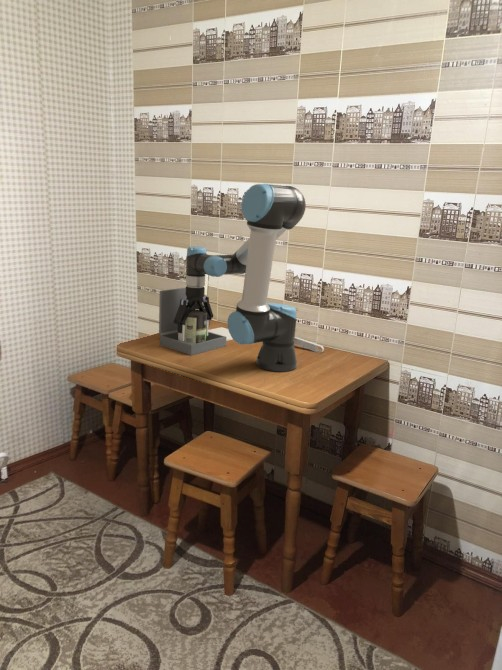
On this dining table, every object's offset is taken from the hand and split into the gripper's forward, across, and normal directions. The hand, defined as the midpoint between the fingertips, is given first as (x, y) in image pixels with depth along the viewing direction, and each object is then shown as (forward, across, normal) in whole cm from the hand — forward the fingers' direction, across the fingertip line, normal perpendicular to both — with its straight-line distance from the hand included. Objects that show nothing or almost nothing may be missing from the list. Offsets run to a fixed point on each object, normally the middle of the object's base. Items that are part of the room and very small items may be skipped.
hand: (193, 337), depth 215 cm
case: (+3, 0, 0) cm, 3 cm away
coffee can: (+4, 0, 0) cm, 4 cm away
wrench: (+4, -32, +26) cm, 42 cm away
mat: (+3, -22, -4) cm, 23 cm away
